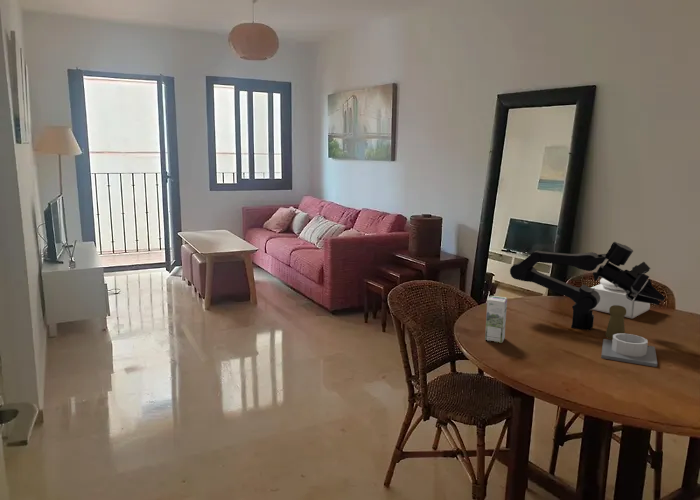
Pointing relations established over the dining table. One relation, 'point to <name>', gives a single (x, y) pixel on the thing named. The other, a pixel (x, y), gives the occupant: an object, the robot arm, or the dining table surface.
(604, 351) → the cup stand
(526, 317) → the dining table surface
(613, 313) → the cork
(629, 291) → the robot arm
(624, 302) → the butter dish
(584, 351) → the dining table surface
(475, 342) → the dining table surface
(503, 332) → the syrup box
